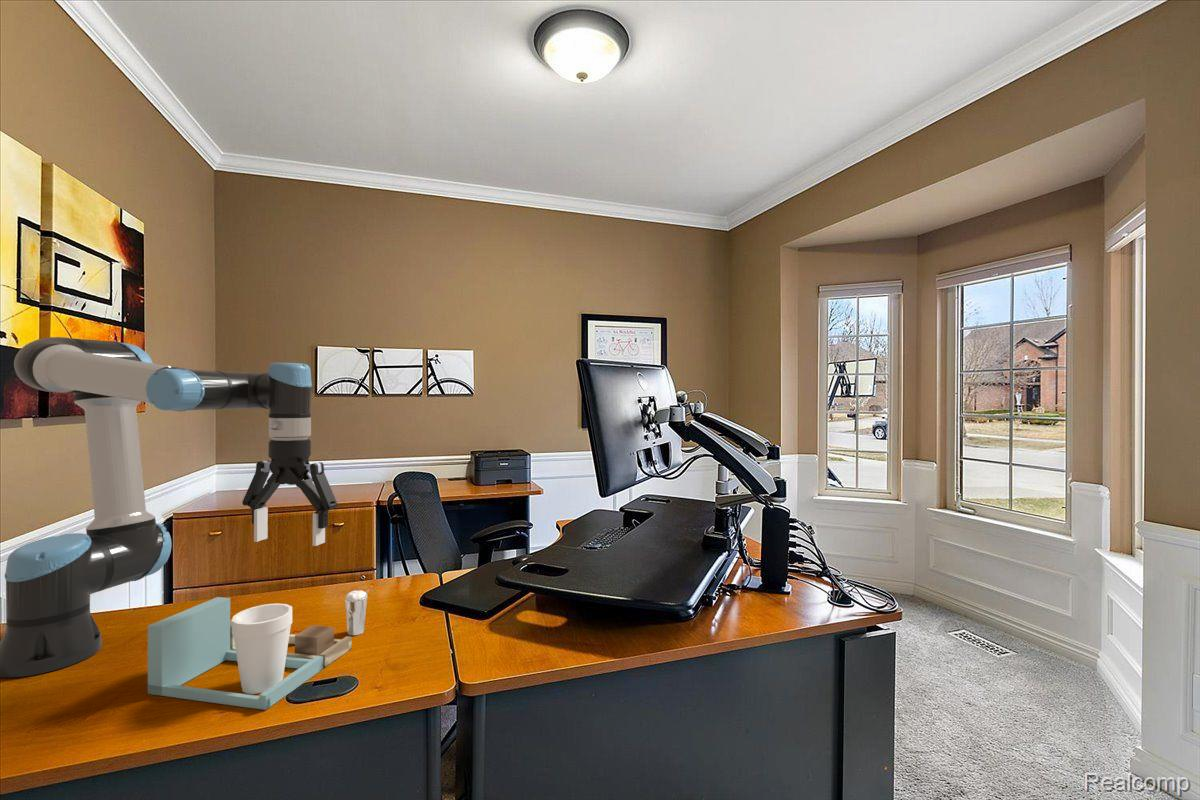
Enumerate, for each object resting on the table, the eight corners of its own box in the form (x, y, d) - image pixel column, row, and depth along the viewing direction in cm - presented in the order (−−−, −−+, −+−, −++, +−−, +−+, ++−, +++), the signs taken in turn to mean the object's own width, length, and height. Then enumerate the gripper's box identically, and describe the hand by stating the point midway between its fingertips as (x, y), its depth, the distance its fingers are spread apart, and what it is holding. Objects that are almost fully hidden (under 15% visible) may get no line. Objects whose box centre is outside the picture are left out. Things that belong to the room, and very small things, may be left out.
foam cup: (222, 687, 97) (222, 615, 97) (276, 666, 105) (276, 599, 104) (247, 704, 92) (247, 629, 91) (302, 681, 99) (302, 611, 99)
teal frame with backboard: (147, 693, 94) (147, 625, 94) (217, 656, 108) (217, 596, 108) (265, 710, 90) (266, 638, 90) (322, 668, 103) (323, 606, 103)
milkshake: (361, 638, 117) (362, 592, 117) (340, 636, 118) (340, 590, 118) (374, 629, 121) (375, 585, 121) (353, 627, 122) (353, 583, 122)
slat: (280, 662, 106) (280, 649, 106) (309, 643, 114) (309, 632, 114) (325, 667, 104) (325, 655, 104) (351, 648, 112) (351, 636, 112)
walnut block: (294, 660, 107) (294, 635, 107) (312, 648, 112) (312, 625, 112) (316, 663, 106) (316, 638, 106) (333, 651, 111) (334, 627, 111)
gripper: (222, 438, 108) (221, 543, 109) (331, 441, 104) (331, 551, 104) (252, 435, 116) (252, 533, 116) (356, 438, 111) (355, 540, 111)
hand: (289, 542), depth 110 cm, fingers open, 13 cm apart
